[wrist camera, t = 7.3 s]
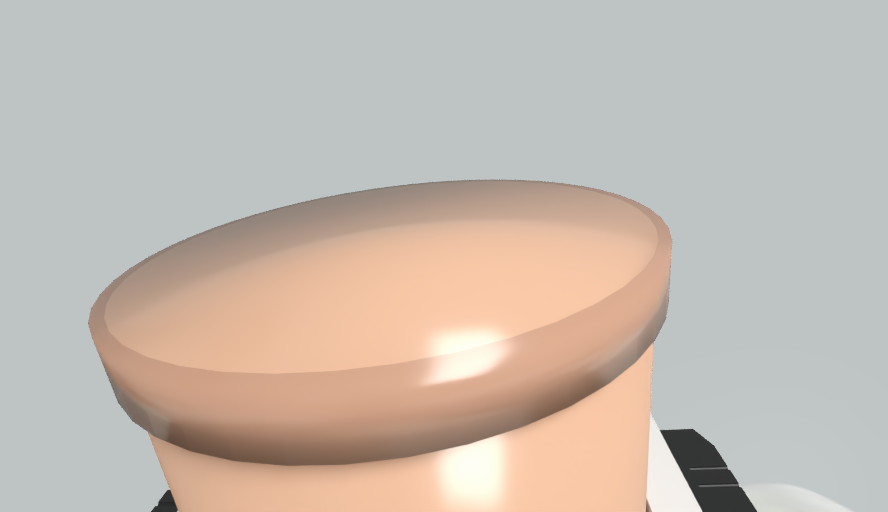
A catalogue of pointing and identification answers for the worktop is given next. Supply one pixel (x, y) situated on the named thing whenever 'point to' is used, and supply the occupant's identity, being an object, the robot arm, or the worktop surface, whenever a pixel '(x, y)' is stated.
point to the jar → (400, 352)
